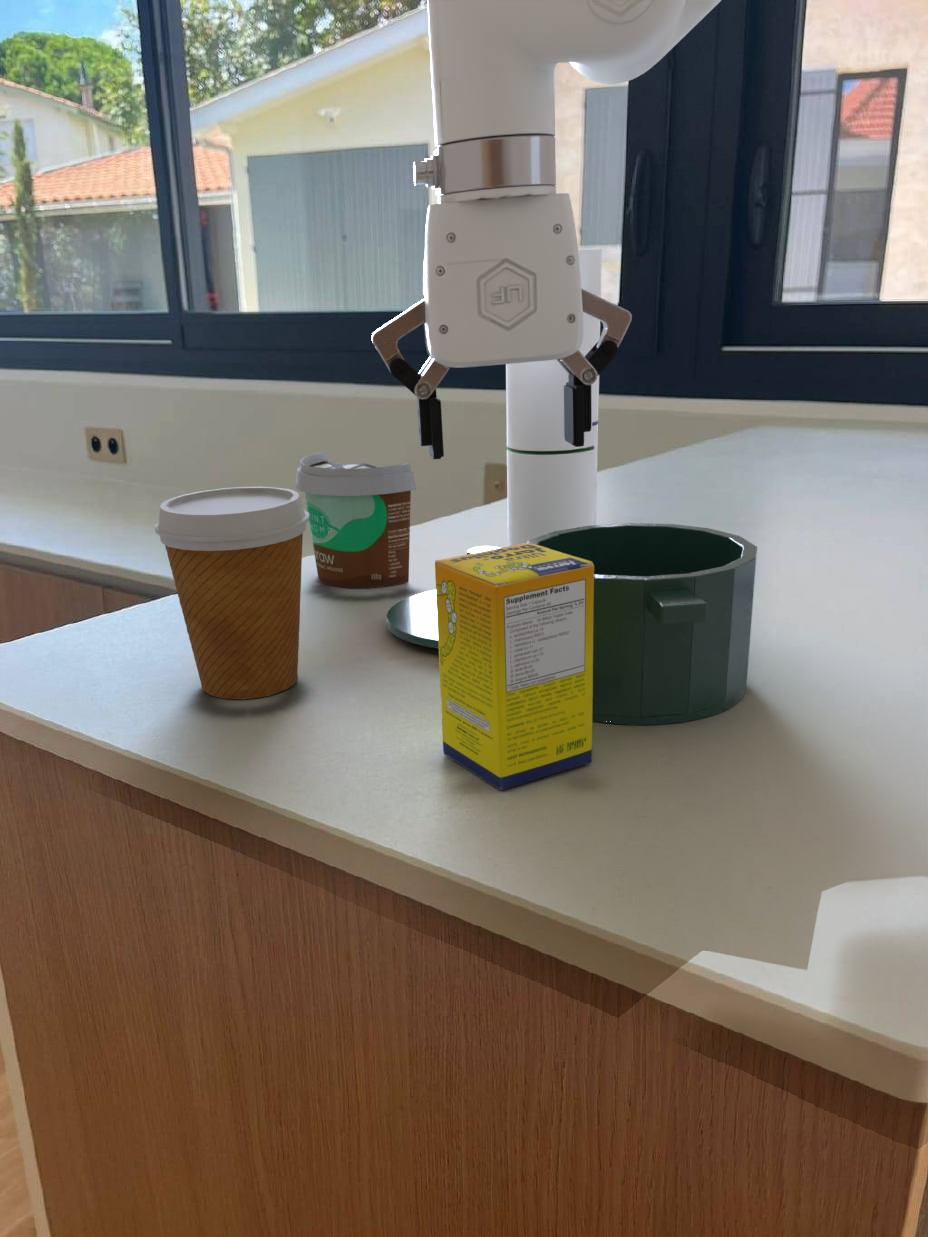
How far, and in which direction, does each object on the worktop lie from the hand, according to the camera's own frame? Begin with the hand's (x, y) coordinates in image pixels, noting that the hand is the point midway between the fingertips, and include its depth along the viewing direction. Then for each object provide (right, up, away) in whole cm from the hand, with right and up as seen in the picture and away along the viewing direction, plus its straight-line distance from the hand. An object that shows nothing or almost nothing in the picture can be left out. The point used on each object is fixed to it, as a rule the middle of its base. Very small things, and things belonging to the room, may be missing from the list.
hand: (505, 450), depth 77 cm
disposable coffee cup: (-17, -16, -4) cm, 24 cm away
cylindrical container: (+5, -7, +15) cm, 18 cm away
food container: (-12, -7, +18) cm, 23 cm away
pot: (+7, -16, -8) cm, 19 cm away
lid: (-1, -11, +4) cm, 12 cm away
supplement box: (-1, -21, -17) cm, 27 cm away
